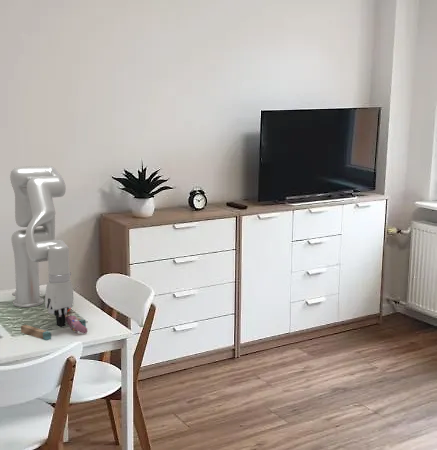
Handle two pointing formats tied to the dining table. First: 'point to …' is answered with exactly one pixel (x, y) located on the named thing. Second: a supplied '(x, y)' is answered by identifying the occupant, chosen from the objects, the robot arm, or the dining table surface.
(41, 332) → the channel
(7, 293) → the dining table surface
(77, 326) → the video game controller
